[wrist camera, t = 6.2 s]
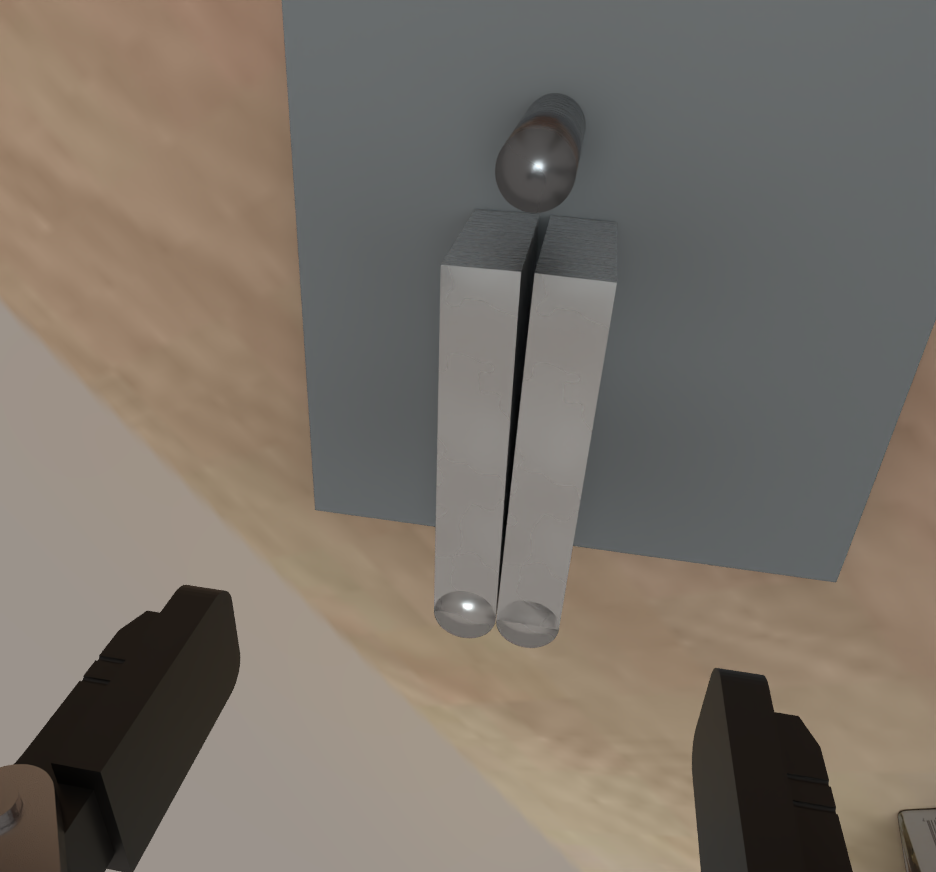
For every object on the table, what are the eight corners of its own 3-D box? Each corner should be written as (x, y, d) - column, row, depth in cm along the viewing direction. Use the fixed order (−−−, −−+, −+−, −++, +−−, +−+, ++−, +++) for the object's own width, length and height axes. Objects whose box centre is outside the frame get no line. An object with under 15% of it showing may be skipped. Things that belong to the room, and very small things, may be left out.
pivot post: (525, 90, 22) (497, 126, 17) (589, 95, 22) (581, 132, 17) (520, 156, 23) (492, 209, 18) (581, 161, 23) (571, 216, 18)
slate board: (1140, -269, 17) (1163, -280, 17) (830, 568, 30) (836, 582, 29) (274, -284, 20) (262, -294, 19) (321, 498, 32) (315, 510, 31)
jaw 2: (550, 215, 24) (534, 272, 19) (616, 222, 23) (617, 282, 19) (512, 539, 30) (493, 642, 25) (564, 546, 30) (555, 652, 25)
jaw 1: (474, 209, 24) (440, 264, 19) (539, 214, 24) (521, 272, 19) (461, 532, 30) (433, 633, 26) (512, 539, 30) (493, 642, 25)
